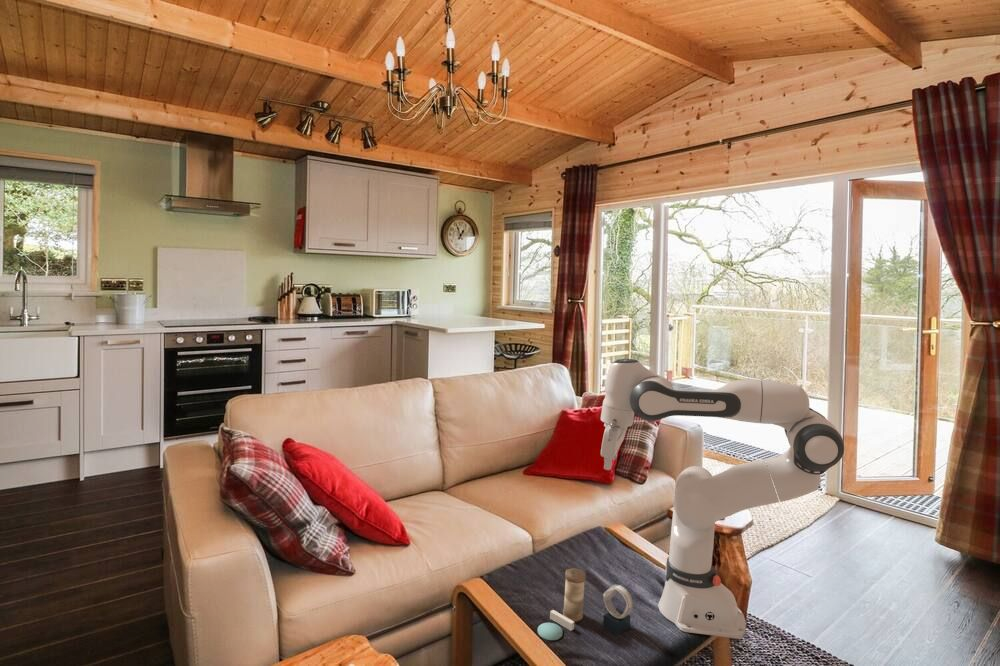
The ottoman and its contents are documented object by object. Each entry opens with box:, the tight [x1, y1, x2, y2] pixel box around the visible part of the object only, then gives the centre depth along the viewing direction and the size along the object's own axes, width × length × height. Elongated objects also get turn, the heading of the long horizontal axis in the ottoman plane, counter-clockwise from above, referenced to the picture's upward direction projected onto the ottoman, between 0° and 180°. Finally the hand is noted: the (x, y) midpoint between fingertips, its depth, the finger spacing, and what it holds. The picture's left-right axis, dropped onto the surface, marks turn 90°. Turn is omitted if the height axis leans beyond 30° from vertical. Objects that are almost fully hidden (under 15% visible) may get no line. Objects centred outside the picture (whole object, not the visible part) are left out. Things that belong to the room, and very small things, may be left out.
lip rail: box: [549, 609, 575, 632], centre depth 149 cm, size 7×1×2 cm, turn 47°
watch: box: [602, 583, 634, 636], centre depth 148 cm, size 6×8×11 cm
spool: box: [562, 568, 587, 623], centre depth 152 cm, size 5×5×12 cm
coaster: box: [537, 622, 564, 641], centre depth 145 cm, size 6×6×1 cm
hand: (610, 463), depth 159 cm, fingers open, 8 cm apart
